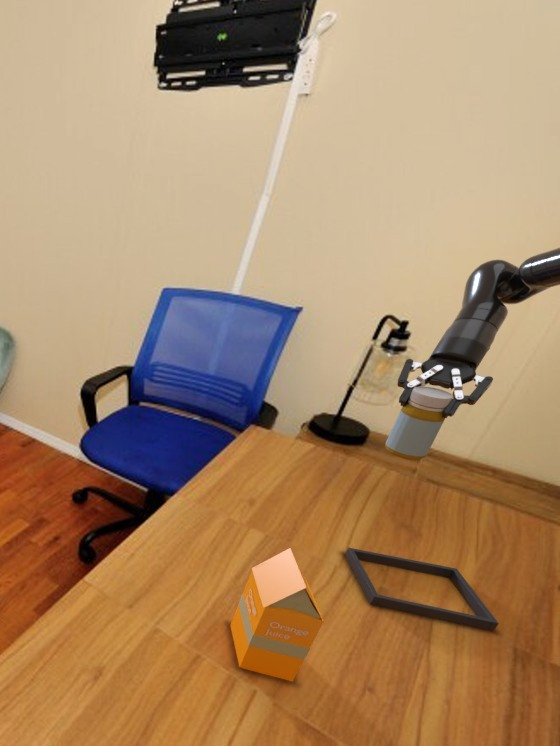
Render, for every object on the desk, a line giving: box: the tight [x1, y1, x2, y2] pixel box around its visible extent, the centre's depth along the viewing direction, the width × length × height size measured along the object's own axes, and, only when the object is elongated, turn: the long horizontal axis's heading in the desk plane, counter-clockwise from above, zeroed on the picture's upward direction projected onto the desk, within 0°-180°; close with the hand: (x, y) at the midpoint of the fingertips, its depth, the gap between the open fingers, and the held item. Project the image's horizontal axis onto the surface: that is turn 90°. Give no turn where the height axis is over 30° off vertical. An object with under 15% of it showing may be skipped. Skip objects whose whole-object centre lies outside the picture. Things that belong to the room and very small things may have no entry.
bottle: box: [384, 386, 453, 461], centre depth 110 cm, size 7×7×15 cm
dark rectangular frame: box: [344, 547, 499, 632], centre depth 96 cm, size 18×14×3 cm
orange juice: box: [230, 547, 325, 682], centre depth 81 cm, size 8×9×20 cm
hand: (423, 410), depth 107 cm, fingers closed on bottle, 6 cm apart
